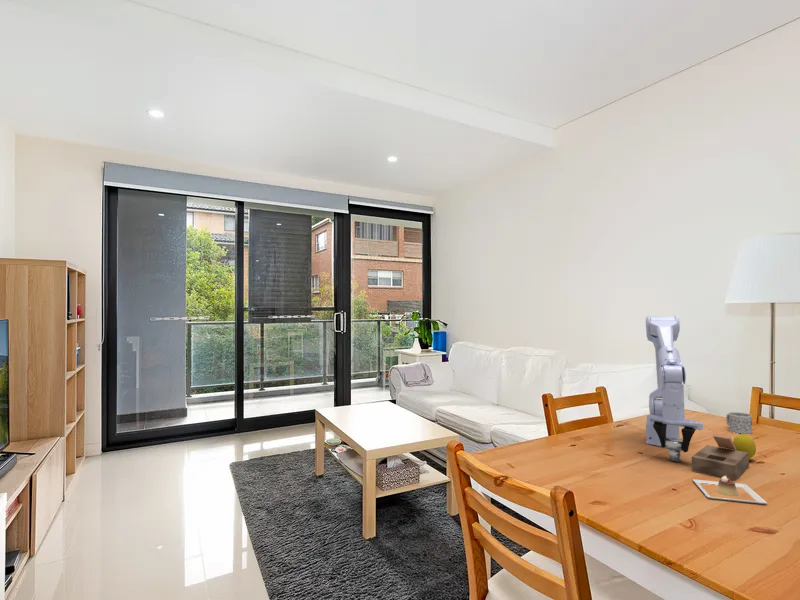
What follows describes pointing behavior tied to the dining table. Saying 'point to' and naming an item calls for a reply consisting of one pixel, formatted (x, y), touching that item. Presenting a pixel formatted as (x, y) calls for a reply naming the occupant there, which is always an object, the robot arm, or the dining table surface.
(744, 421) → the mug
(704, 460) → the socket block
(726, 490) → the dessert
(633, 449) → the dining table surface
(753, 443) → the lemon
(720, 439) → the bar
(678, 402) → the robot arm
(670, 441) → the silver knob
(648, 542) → the dining table surface
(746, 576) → the dining table surface
